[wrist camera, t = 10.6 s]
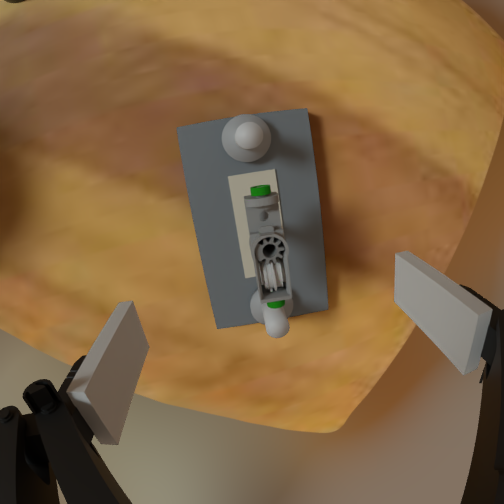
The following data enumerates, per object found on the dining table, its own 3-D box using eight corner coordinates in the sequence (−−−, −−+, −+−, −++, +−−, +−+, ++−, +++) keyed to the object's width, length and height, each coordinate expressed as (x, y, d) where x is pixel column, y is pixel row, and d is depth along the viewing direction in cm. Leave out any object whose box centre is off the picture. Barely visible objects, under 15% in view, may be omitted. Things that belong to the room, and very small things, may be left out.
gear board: (179, 129, 33) (165, 122, 25) (302, 110, 33) (322, 99, 25) (217, 321, 40) (215, 357, 33) (324, 302, 40) (343, 334, 33)
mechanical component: (266, 175, 33) (280, 184, 23) (278, 266, 36) (295, 306, 27) (238, 179, 33) (241, 190, 23) (252, 270, 36) (260, 312, 26)
